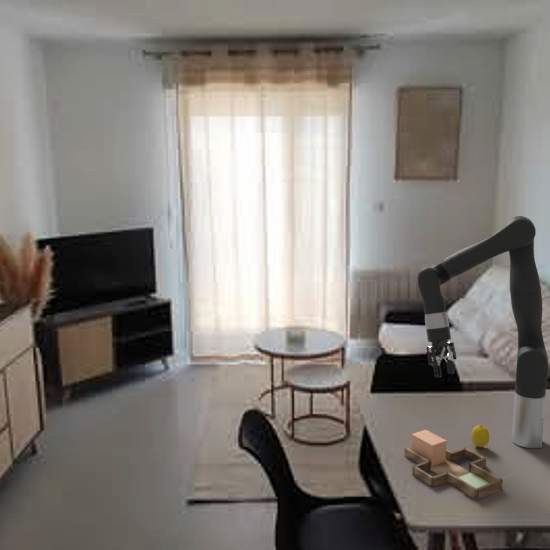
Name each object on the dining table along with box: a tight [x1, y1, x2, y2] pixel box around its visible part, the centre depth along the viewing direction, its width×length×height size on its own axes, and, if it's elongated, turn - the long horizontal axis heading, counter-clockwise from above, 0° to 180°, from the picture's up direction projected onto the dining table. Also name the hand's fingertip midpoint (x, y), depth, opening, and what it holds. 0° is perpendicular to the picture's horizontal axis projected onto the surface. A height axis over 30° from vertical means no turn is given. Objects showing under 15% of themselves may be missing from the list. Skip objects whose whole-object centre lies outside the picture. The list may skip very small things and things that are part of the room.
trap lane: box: [404, 447, 504, 501], centre depth 180 cm, size 29×22×3 cm
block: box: [410, 429, 447, 467], centre depth 187 cm, size 9×6×7 cm, turn 30°
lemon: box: [470, 424, 490, 448], centre depth 194 cm, size 6×6×8 cm
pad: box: [459, 473, 489, 488], centre depth 172 cm, size 10×9×1 cm
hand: (444, 375), depth 196 cm, fingers open, 8 cm apart
